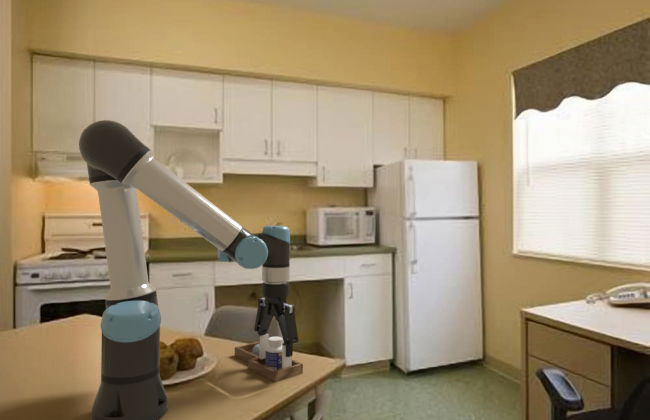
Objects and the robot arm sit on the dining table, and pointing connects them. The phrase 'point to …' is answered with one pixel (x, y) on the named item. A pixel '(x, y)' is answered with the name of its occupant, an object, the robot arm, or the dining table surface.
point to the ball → (256, 350)
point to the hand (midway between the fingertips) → (275, 362)
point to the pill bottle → (274, 353)
